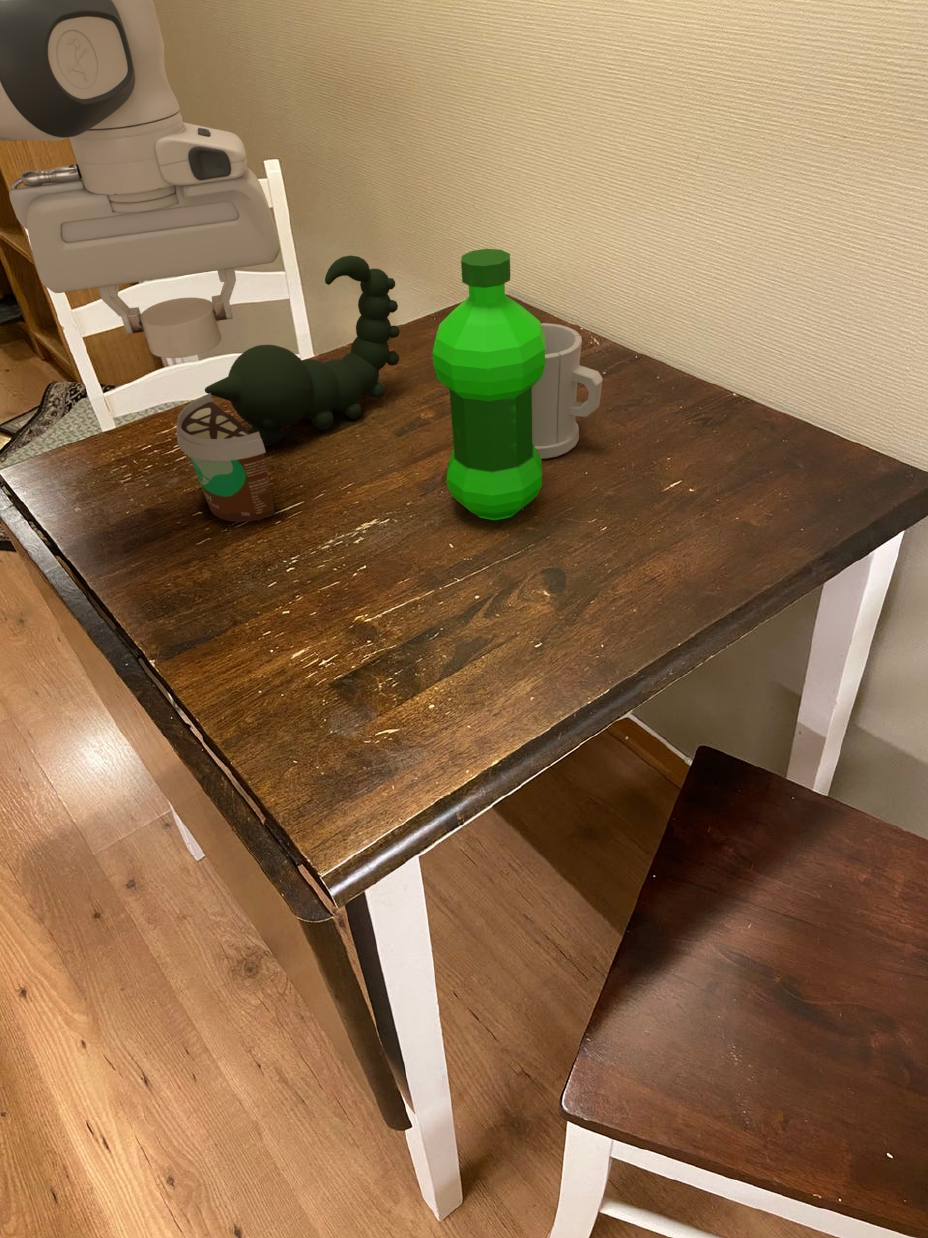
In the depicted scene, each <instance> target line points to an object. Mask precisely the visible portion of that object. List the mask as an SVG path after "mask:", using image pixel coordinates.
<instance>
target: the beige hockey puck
mask: <svg viewBox="0 0 928 1238" xmlns="http://www.w3.org/2000/svg"><path fill="white" fill-rule="evenodd" d="M140 321H141V324H142V327H143V330H144V332H143V334H144V336H145V341H146V343H147V346H148V349H149V352H150V353H151V354H152V355H153V356H156V357H159V358H163V359H164V358H165V359H181V358H182V359H183V358H188V357H194V356H197V355H200V354H203V353H206V352H208V351H211V350H212V349H214V348H216V347H217V346H218V345H219V344H220V343H221V341H222V339H223V336H222V331H221V328H220V324H219V321H217V320H216V317H215V311H214V309H213V305H212V300H209V299H206V298H202V297H180V298H172V299H168V300H164V301H161V302H158V303H156V304H153V305H151V306H148V308H145V310H143V311H142V312H141V316H140Z"/></svg>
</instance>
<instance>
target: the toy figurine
mask: <svg viewBox="0 0 928 1238" xmlns="http://www.w3.org/2000/svg"><path fill="white" fill-rule="evenodd" d="M340 277H349V278H350V279H352V280H353V281H356V282H360V284H359V286H360V291H361V292H362V293H361V294H360V295H359V298H358V301H357V308H358V312H359V314H360V316H359V317H358V319H357V321H356V325H355V334H356V337H355V338H354V339H353V342H352V344H351V348H350V352H349V353H347V354H346V355H344V356H343V357H342V358H335V359H329V360H326V361H324V362H323V361H320V360H317V359H314V358H306V359H303V360H302V358H300V357H299V356H298V355H296V353H294V352H293V351H292V350H290V349H288V348H286V347H282V346H279V345H275V344H260V345H255V346H253V347H249V348H248V349H247V350H245V351H243V352H242V353H240V355H239V356H238V357H237V358H236V359H235V360H234V362H233V363H232V365H231V367H230V369H229V371H228V376H226V377H224V378H222V379H220V380H218V381H215V382H214V383H211V384H210V385H208V386H206V387H204V392H205V393H206V395H207V394H210V393H211V396H213V397H216V398H219V399H223V400H226V401H228V402H230V404H231V406H232V408H233V409H234V411H235V413H237V415H238V416H239V417H240V418H241V419H242V420H244V422H246V423H247V424H249V425H251V426H250V431H251V434H253V433H256V432H259V434H260V437H261V439H262V441H263V445H264V446H275V445H278V444H279V443H280V442H281V441H282V439H283V435H284V431H283V430H284V429H287V428H290V427H291V426H293V425H295V424H297V423H298V422H299V421H301V419H302V418H304V419H307V420H311V422H312V424H313V426H314V427H316V428H318V429H321V430H326V429H328V428H330V427H332V425H333V423H334V415H333V412H334V413H343V412H344V414H345V415H346V417H348V418H349V419H350V420H355V419H358V418H360V416H361V415H362V409H363V408H362V406H361V405H360V404H359V402H360V400H362V396H364V395H367V394H369V397H370V398H373V399H376V400H381V399H382V398H383V397H384V396H385V395H386V392H387V391H386V388H385V387H386V386H385V385H384V384H383V383H381V382H379V377H380V370H382V369H383V368H384V367H385V365H386V364H387V365H389V366H396V365H398V363H399V361H400V354H398V353H397V351H395V350H390V348H389V344H388V342H389V340H390V338H391V339H394V338H398V337H399V335H400V331H401V330H400V328H399V327H398V326H397V325H391V321H390V319H389V316H391V314H393V313H395V312H397V311H398V309H399V308H398V307H399V304H398V303H397V301H396V300H394V299H391V297H390V295H389V293H390V290H393V289H394V288H395V287H396V281H395V279H394V278H393V277H389V276H388V274H387V273H386V272H384V271H383V270H382V269H380V268H370V266H369V264H368V261H366V260H365V259H364V258H362V257H360V256H357V255H343V256H341V257H339V258H338V259H336V260H334V261H333V263H332V264H330V266H329V267H328V269H327V272H326V274H325V277H324V282H325V284H326V285H328V286H329V285H331V284H332V283H333V282H335V280H336V279H338V278H340Z"/></svg>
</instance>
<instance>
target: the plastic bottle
mask: <svg viewBox="0 0 928 1238" xmlns="http://www.w3.org/2000/svg"><path fill="white" fill-rule="evenodd" d="M460 266H461V267H460V268H461V269H460V270H461V283H463V284H465V285H467V286H468V297H467V298H465V299H464V300H463V301H462V302H461V303H459V305H458V306H456V307H455V308H454V309H453V310H452V311H451V312H450V313H449V314H448V315H447V316H446V317H445V318H444V319H442V321H441V322H440V323H439V325H438V327H437V331H436V335H435V339H434V344H433V348H432V352H431V353H432V364H433V365H432V366H433V369H434V372H435V375H436V378H437V380H438V381H439V382H440V383H441V384H442V385H444V386H445V387H446V388H447V389H448V390H449V400H450V401H449V403H450V414H451V427H452V441H453V450H452V452H451V455H450V457H449V459H448V460H449V461H448V466H447V473H446V483H447V485H446V487H447V490H448V491H449V493H450V495H451V496H452V498H453V499H455V500H456V501H457V502H458V503H459V504H461V505H462V506H463V507H464V508H466V509H467V510H468V511H469V512H470V513H471V514H474V515H476V516H477V517H479V519H487V520H491V521H499V520H504V519H509V518H512V517H513V516H514V515H516V514H517V513H518V512H520V511H521V510H522V509H523V508H525V507H526V506H528V505H529V504H530V503H532V501H534V500H535V499H536V498H537V497H538V495H539V493H540V491H541V489H542V486H543V475H542V474H543V471H542V470H543V469H542V467H543V463H542V461H543V459H541V457H540V455H539V453H538V451H537V449H536V448H535V446H534V445H533V443H532V386H533V385H534V384H535V383H536V382H537V381H538V380H539V379H540V378H541V377H542V375H543V371H544V366H545V333H544V331H543V328H542V326H541V321H540V320H539V319H538V318H537V317H536V316H534V315H533V314H532V313H531V312H529V310H527V309H526V308H525V307H524V306H522V305H521V304H519V303H518V302H517V301H515V300H514V299H512V298H511V297H509V296H508V295H506V285H505V284H506V283H508V282H510V281H511V253H510V252H507V251H505V250H503V249H496V248H483V249H475V250H471V251H468V252H466V253H464V254H462V255H461V259H460Z"/></svg>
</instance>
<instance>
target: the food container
mask: <svg viewBox="0 0 928 1238" xmlns="http://www.w3.org/2000/svg"><path fill="white" fill-rule="evenodd" d="M212 396H213V395H211V393H210V394H207V393H206V394H204V395H202V396H200V397H197V398H196V399H195V400H192V401H191V402H190V403H188V404H187V405H186V406H185V407H184V408H183V409H182V410H181V411H180V413H179V414H178V416H177V422H176V441H177V442H176V443H177V445H178V448H179V449H180V450H181V451H182V452H183V453H184V454H186V455H188V456H189V458H190V461H191V464H192V467H193V469H194V471H195V474H196V477H197V480H198V482H199V485H200V487H201V490H202V492H203V495H204V498H205V499H206V503H207V506H208V507H209V510H210V512H211V513H212V514H213V515H214V516H215V517H217V518H219V519H221V520H226V521H230V522H253V521H257V520H263V519H266V518H269V517H272V516H274V515H276V511H275V505H274V501H273V500H274V499H273V494H272V490H271V485H270V479H269V475H268V469H267V464H266V458H265V453H267V451H266V449H265V444H263V441H262V439H261V437H260V434H259V432H256V433H252V432H250V431H248V430H247V428H245V426H243V424H242V423H240V422H239V420H237V419H236V418H235V416H232V415H231V414H230V413H227V412H226V411H224V410H223V409H221V408H220V407H219V406H217V405H216V404H215V402H214V400H213V397H212Z"/></svg>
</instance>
